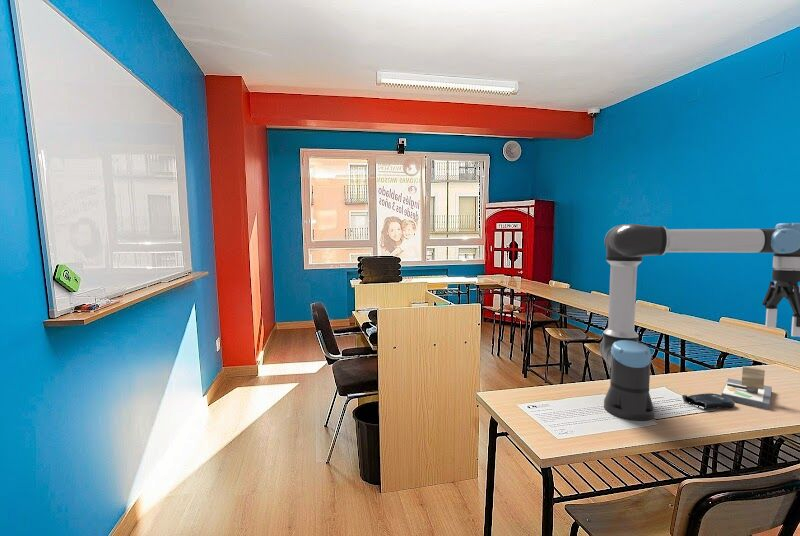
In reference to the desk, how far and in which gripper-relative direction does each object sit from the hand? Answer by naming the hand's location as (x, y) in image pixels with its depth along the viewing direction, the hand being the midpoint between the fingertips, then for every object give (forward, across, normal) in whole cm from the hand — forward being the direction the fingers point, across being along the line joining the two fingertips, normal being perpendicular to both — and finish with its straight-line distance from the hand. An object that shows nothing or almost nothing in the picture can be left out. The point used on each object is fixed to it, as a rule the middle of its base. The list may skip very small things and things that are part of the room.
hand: (783, 331), depth 133 cm
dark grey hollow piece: (+29, +1, +19) cm, 34 cm away
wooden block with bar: (+26, +12, +4) cm, 29 cm away
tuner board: (+28, +14, +2) cm, 31 cm away
